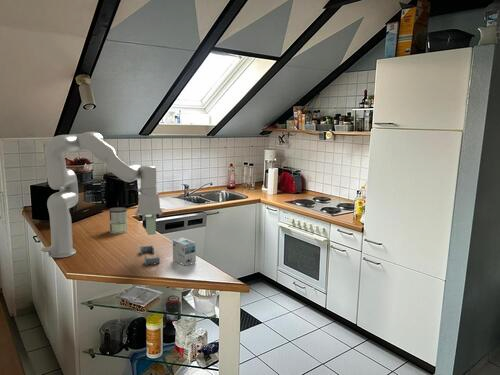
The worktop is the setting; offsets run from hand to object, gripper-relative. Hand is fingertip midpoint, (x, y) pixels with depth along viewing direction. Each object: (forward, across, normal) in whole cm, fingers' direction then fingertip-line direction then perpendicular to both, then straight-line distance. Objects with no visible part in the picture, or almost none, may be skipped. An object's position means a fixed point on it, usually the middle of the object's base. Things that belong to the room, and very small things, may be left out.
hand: (149, 227), depth 191 cm
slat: (+2, 0, 0) cm, 2 cm away
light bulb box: (+16, +15, -11) cm, 25 cm away
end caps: (+16, 0, 0) cm, 16 cm away
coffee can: (+16, -10, +53) cm, 56 cm away
